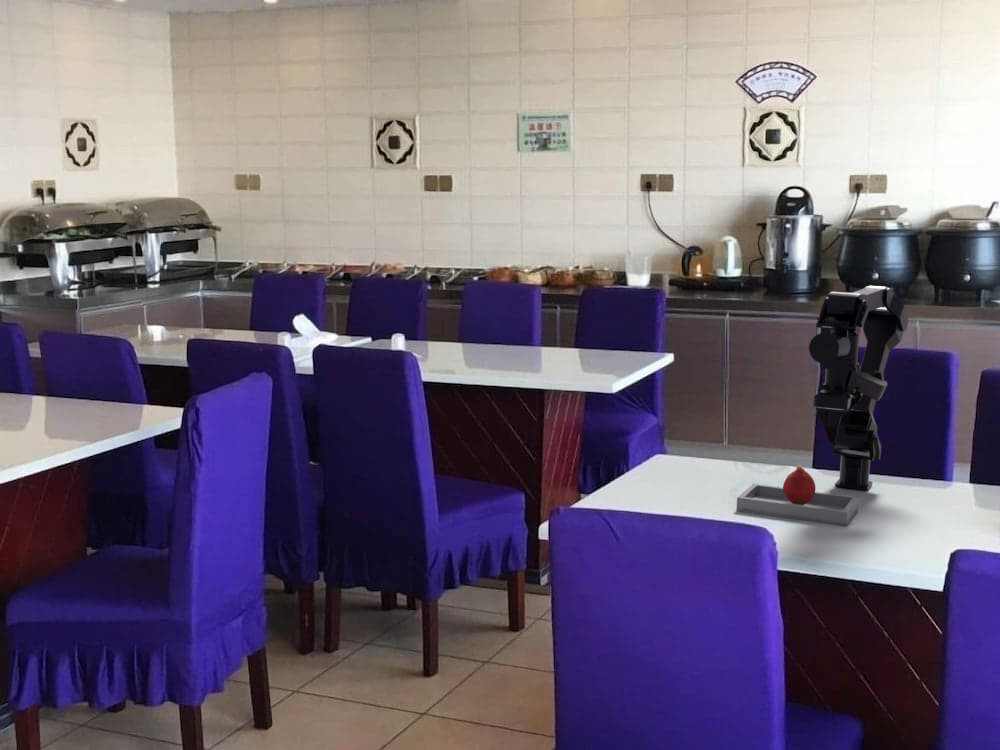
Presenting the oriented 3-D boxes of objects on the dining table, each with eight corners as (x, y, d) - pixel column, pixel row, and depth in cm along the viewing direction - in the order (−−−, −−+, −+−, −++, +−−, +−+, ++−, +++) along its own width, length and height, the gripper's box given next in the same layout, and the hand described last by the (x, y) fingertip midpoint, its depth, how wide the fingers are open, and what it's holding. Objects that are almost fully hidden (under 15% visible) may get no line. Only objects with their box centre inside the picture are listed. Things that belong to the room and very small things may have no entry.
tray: (752, 496, 235) (753, 483, 235) (857, 510, 227) (858, 497, 226) (736, 510, 224) (737, 497, 224) (846, 526, 216) (847, 512, 215)
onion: (815, 505, 227) (818, 463, 226) (812, 512, 222) (815, 470, 221) (783, 501, 229) (786, 460, 228) (780, 509, 224) (782, 467, 222)
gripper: (877, 368, 219) (871, 452, 222) (892, 355, 236) (886, 433, 238) (815, 362, 224) (810, 445, 226) (834, 350, 241) (829, 427, 243)
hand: (836, 437), depth 233 cm, fingers open, 9 cm apart
